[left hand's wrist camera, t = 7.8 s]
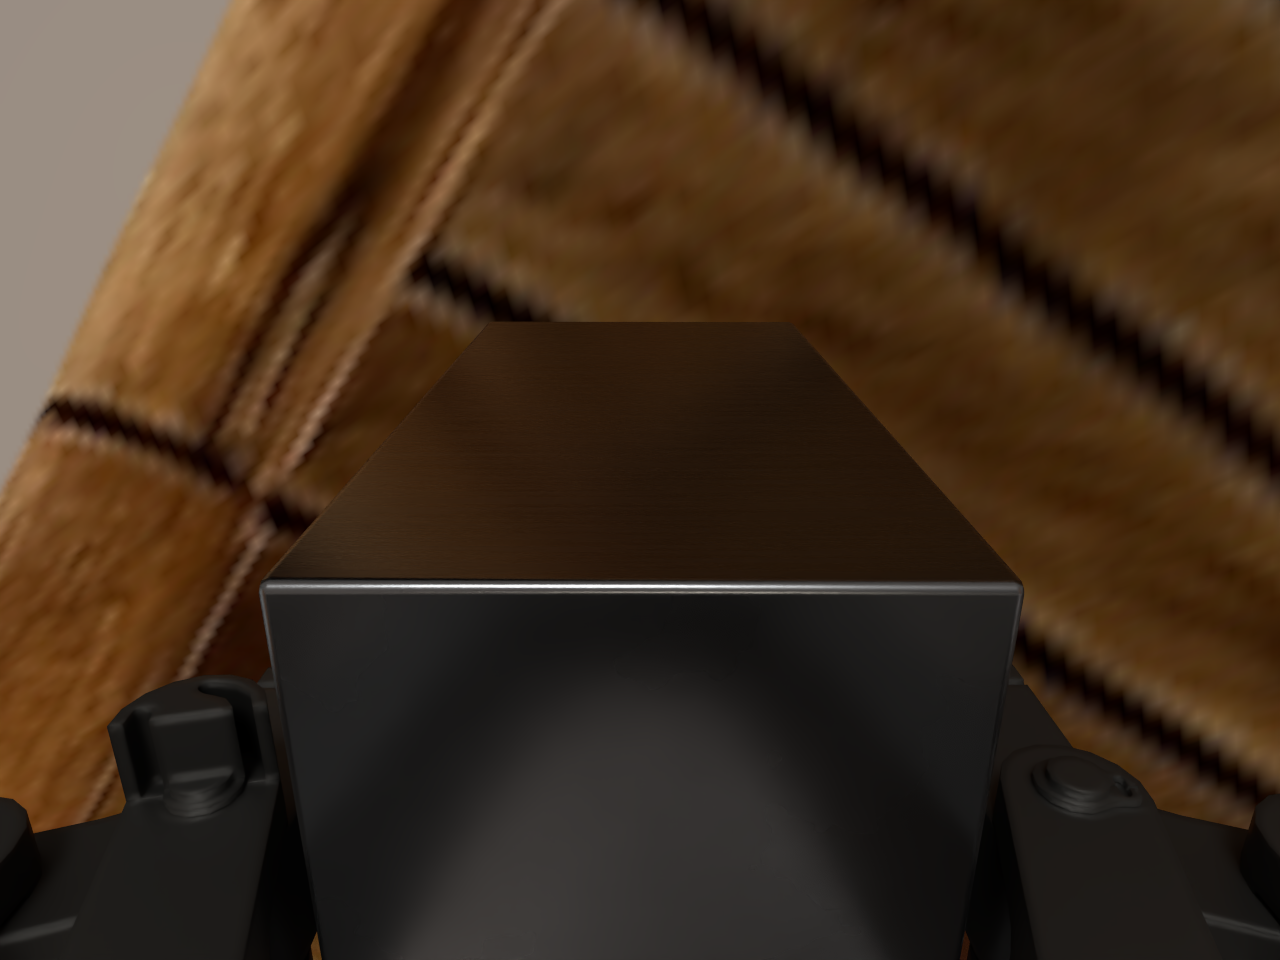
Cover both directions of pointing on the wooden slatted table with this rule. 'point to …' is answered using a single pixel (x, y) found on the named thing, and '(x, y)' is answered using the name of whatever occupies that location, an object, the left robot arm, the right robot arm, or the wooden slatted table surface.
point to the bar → (641, 664)
